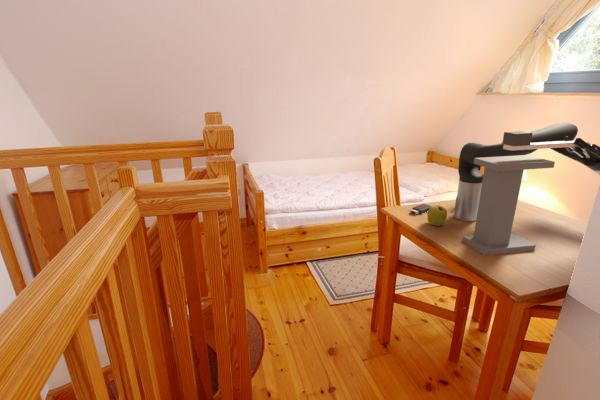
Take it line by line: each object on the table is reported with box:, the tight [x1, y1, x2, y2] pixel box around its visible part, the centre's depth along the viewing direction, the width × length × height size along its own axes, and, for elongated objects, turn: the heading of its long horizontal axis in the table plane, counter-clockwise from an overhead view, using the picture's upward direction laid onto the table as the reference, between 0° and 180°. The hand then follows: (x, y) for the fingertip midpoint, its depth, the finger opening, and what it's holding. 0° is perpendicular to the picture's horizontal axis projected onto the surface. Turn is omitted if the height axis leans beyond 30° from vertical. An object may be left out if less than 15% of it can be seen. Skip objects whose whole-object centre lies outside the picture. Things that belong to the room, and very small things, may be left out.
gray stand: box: [461, 154, 556, 256], centre depth 115 cm, size 20×12×32 cm, turn 98°
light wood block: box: [501, 130, 587, 151], centre depth 109 cm, size 28×5×6 cm, turn 98°
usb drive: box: [409, 203, 433, 216], centre depth 154 cm, size 5×12×3 cm, turn 127°
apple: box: [426, 204, 448, 227], centre depth 138 cm, size 8×8×10 cm
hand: (570, 139), depth 110 cm, fingers closed on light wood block, 3 cm apart
